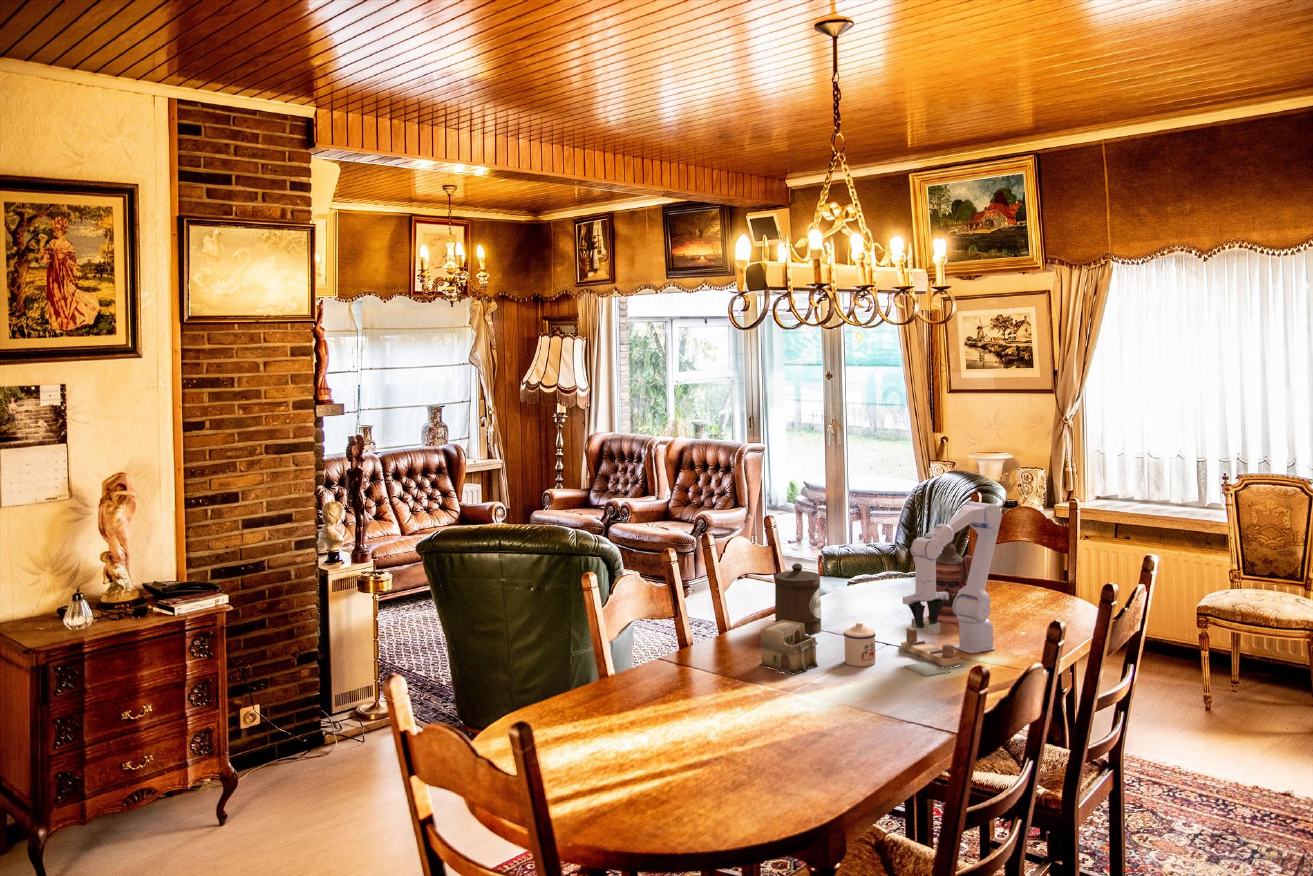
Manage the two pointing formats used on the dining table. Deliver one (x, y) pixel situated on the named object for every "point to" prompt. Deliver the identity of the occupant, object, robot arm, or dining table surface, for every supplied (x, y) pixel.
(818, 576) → the wooden container
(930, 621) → the lever cap
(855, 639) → the teacup with lid
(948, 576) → the beer stein
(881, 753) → the dining table surface
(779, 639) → the miniature house
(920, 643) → the plane body
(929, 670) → the felt pad
